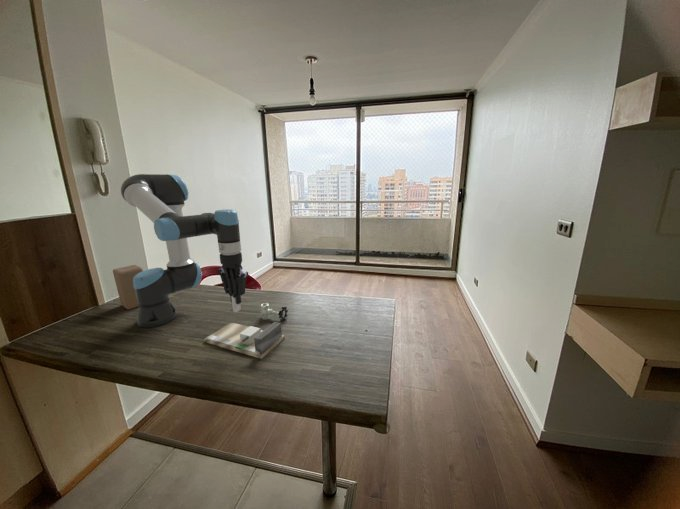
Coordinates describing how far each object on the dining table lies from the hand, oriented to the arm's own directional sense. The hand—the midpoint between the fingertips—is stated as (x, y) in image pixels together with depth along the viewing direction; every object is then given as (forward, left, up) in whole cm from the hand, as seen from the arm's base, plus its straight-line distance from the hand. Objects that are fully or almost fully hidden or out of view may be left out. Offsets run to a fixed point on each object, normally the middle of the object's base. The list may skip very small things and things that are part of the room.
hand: (237, 310), depth 102 cm
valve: (+2, +18, -13) cm, 22 cm away
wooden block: (-75, +4, -13) cm, 76 cm away
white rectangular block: (+6, -1, -11) cm, 12 cm away
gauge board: (+2, 0, -12) cm, 13 cm away
